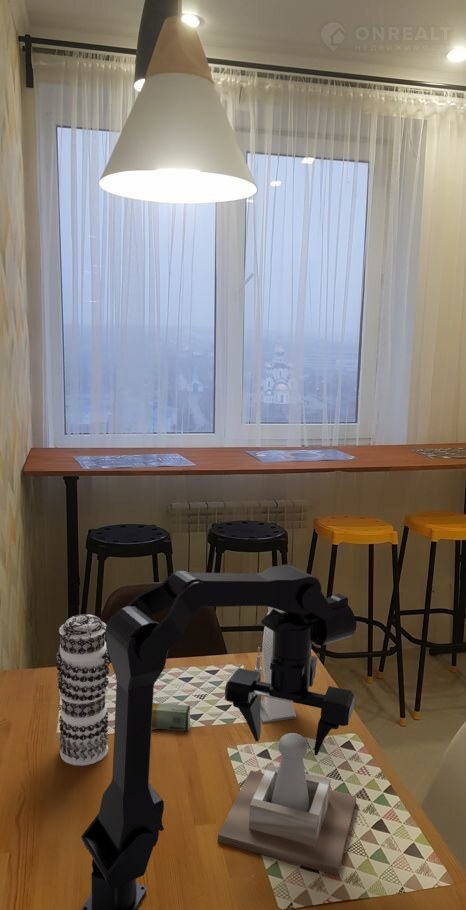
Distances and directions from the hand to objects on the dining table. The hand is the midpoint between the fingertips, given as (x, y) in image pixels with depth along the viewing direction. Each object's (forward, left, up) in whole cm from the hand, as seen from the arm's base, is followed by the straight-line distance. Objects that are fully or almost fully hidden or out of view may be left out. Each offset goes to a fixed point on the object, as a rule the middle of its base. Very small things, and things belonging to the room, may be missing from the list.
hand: (286, 746), depth 103 cm
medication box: (+17, +29, -13) cm, 36 cm away
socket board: (0, -1, -13) cm, 13 cm away
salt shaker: (0, -1, -12) cm, 12 cm away
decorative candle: (+4, +38, -13) cm, 40 cm away
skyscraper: (+29, +9, -13) cm, 33 cm away
